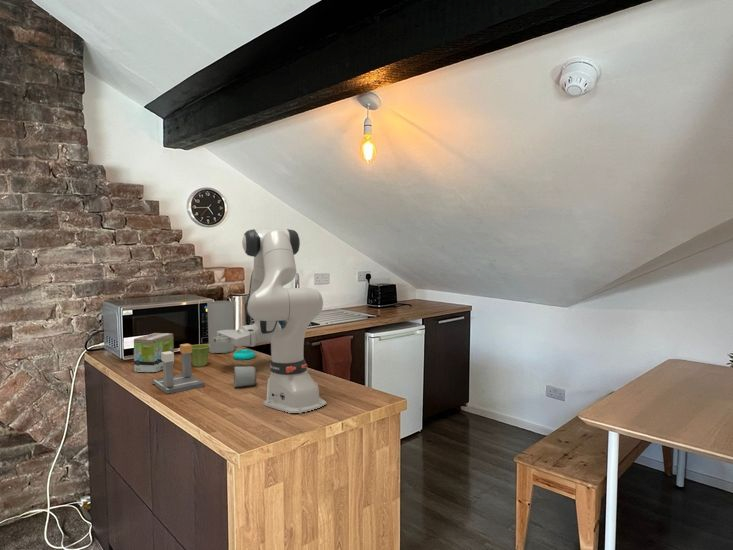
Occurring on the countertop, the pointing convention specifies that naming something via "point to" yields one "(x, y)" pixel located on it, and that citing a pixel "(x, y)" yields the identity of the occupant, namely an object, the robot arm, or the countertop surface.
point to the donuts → (244, 354)
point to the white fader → (168, 368)
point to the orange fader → (186, 359)
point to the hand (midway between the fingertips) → (215, 340)
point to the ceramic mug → (244, 376)
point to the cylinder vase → (220, 324)
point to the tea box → (151, 351)
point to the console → (179, 384)
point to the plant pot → (200, 354)
